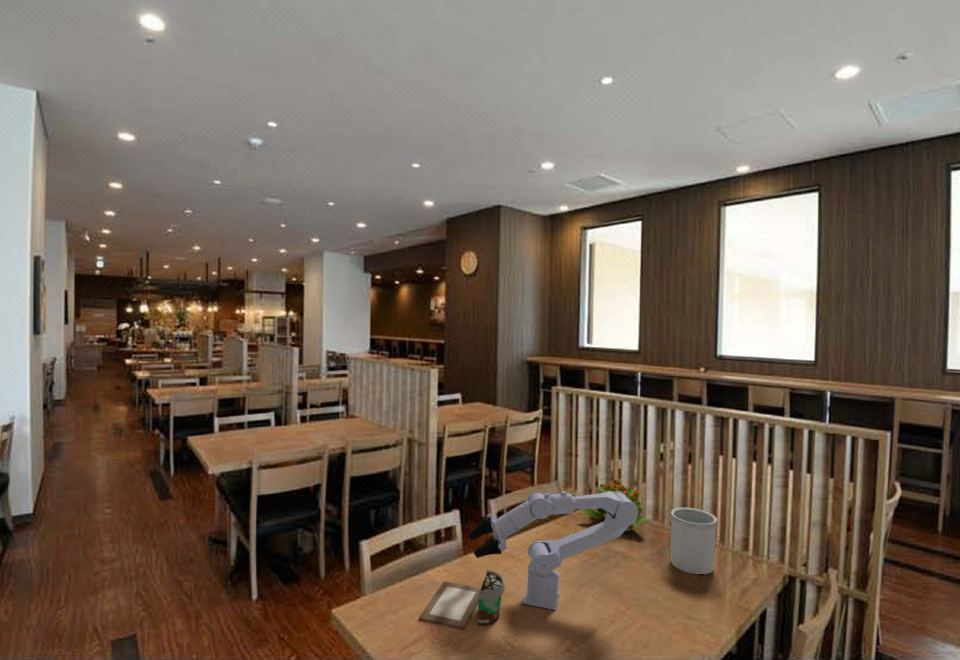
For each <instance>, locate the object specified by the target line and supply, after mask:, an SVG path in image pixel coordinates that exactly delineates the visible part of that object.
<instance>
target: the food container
mask: <svg viewBox="0 0 960 660" xmlns="http://www.w3.org/2000/svg"><path fill="white" fill-rule="evenodd" d="M485 574H486V575H485V577H484V580H483V582H482V585H481V590H479V593H478V599H479V600H478V604H477V606H478V608H477V612H478V613H477V626H480V627H481V626H482V627H483V626H491V625H494V624H495V623H497V622H498V621H499V620H500V612H501V604H502V603H501V602H502V595H503V594H504V593H505V590H506V588H505V583H504V579H503V577H502V576H501V575H500V574H498V573H497V572H495V571H492V570H489V569H486V573H485Z"/></svg>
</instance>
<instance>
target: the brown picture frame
mask: <svg viewBox="0 0 960 660" xmlns="http://www.w3.org/2000/svg"><path fill="white" fill-rule="evenodd" d="M481 588H482V587H481ZM481 588H480V587H476V586H470V585H465V584H461V583H456V582H455V583H454V582H449V581H443V582H442V583H441V584H440V586H439V588H438V589H437V590H436V592H435V594H434V595H433V596H432V598H431V599H430V601H429V602H428V604H427V605H426V607H425V608H424V610H423V611H422V612H421V614H419V617H418V620H419V621H422V622H426V621H427V623H432V624H437V625H440V626H445V627H449V628H455V629H458V630H459V629H460V630H464V631H465V629H466V628H467V626H468V624H469V622H470V620H471V619H472V616H473V614H474V612H475V610H476V609H477V606H478V600H479V599H478V593H479V590H481Z"/></svg>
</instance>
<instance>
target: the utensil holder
mask: <svg viewBox="0 0 960 660" xmlns="http://www.w3.org/2000/svg"><path fill="white" fill-rule="evenodd" d="M670 517H671V522H670V525H671V526H670V528H671V529H670V530H671V531H670V532H671V533H670V562H671V564H672V566H674V568H677V569H678V570H680V571H682V572H685V573H688V574H693V575H699V574H704V575H709V574H711V573H713V571H714V566H715V555H716V554H715V553H716V539H717V538H716V537H717V535H716V534H717V525H718V519H717V517H716V516H715V515H714V514H712V513H710V512H708V511H705V510H702V509H698V508H693V507H676V508H673V509H672V510H671V512H670Z"/></svg>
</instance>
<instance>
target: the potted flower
mask: <svg viewBox="0 0 960 660" xmlns="http://www.w3.org/2000/svg"><path fill="white" fill-rule="evenodd" d="M597 488H598V489H597V491H595V494H600V493H605V492H608V491H612V492H615V491H620V492H622V493H624V494H625V495H626V497H627V498H628V499H629V500H630V501H631V502H633V503H634V504H635V505H636V506H637V508H638V516H637V519H636V522H635V524H632V525H630V526H629V527H628V528H627V529H626V530H625V531H624V532H626V531H631V530H632V527H631V526H633V527H634V528H635V529H638V528H639V527H641V526H642V525H644V524H646V523H647V520H646V519H645V518H644V516H645V515H642V513H643V511H644V510H643V509H642V508H641V506H642V503H641V501H638V500H639V495H640V494H641V492H642V491H641V490H638V489H633V488H631V487H629V488H627V487H626V486H625V485H624V484H622V481H621V480H619V479H617V478H613V480H612V483H606V484H603V483H601V484H600V485H599V486H597ZM580 512H581V513H583V514H585V515H588V516H590V517H592V518H595V519H597V520H600V523H602V522H604V521H605V518H606V515H607V511H606V510H604V509H602V508H588V509H581V510H580Z"/></svg>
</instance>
